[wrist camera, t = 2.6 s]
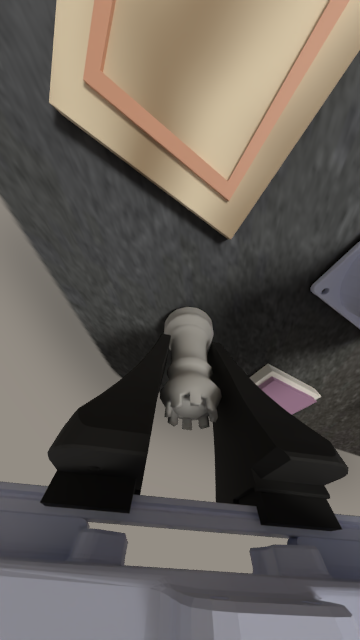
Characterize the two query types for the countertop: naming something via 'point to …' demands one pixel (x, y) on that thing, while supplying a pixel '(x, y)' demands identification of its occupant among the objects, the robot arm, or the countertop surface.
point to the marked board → (201, 88)
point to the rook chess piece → (190, 370)
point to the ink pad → (285, 389)
